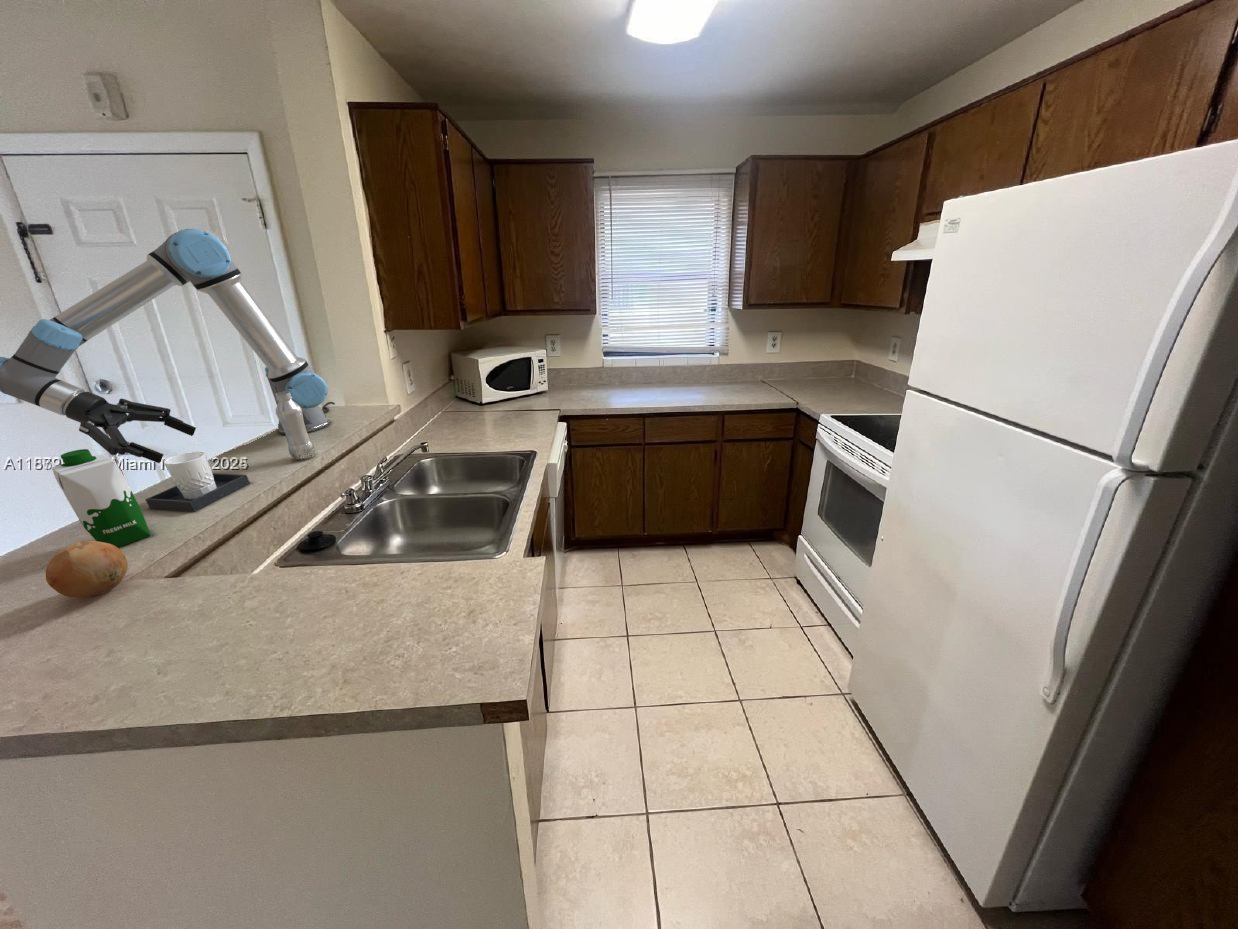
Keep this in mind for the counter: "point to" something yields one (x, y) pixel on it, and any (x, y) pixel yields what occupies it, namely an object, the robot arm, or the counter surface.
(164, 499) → the baking tray
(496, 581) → the counter surface
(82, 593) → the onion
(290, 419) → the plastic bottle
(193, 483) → the white cup
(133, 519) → the milk carton
